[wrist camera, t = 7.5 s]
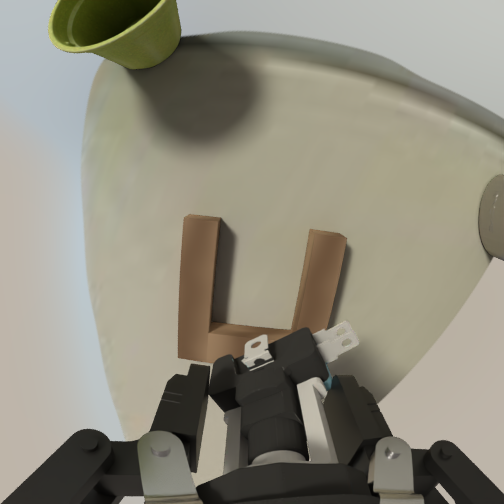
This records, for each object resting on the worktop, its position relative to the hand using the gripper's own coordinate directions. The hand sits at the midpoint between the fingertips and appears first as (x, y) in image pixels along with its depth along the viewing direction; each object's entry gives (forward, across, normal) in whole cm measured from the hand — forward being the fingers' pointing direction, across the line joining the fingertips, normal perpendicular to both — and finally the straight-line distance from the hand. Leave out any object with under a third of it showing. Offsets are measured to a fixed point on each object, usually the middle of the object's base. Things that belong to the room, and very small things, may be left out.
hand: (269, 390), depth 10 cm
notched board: (+14, 0, +2) cm, 14 cm away
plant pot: (+14, +12, -19) cm, 27 cm away
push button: (+3, -1, 0) cm, 3 cm away
